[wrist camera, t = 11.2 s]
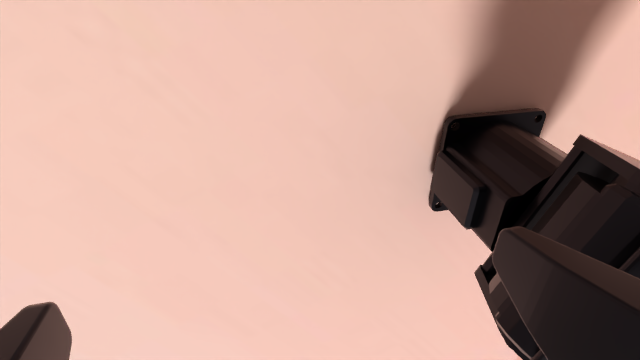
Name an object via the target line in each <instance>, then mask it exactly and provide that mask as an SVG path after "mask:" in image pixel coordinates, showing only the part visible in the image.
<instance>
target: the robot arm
mask: <svg viewBox="0 0 640 360" xmlns="http://www.w3.org/2000/svg"><path fill="white" fill-rule="evenodd" d="M536 116H537V118H536ZM535 118H536V119H535ZM545 118H546V113H545V112H544V111H542V110H540V109H537V108H535V109H524V110H513V111H502V112H491V113H480V114H468V115H457V116H451V117H449V118H448V119H447V120H446V121H445V124H444V128H443V133H442V138H441V143H440V148H439V152H438V154H437V157H436V162H435V167H434V172H433V177H432V182H431V194H430V199H429V206H430V207H431V209H432V210H433V211H444V210H449V211H450V212H451V213H452V214H453V215H454V216H455V218H456V219H457V220H458V221H459V222H460V223H461V225H462V226H463V227H464V228H466V229H472V230H473V231H474V232H475V233H476V234H477V236H478V237H479V238H480V239H481V240H482V241H483V242H484V243H485V245H486V246H487V247H488V248H489V249H490V250H491V251H492V253H491V255H490V256H489V257H488V259H487V260H486V261H485V263H484V264H483V265H480V266H479V267H478V269H477V270H476V271H475V276H476V278H477V281H478V283H479V285H480V287H481V290H482V292H483V294H484V297H485V299H486V301H487V304H488V306H489V308H490V311H491V313H492V315H493V318H494V320H495V322H496V324H497V327H498V329H499V331H500V333H501V335H502V336H503V338H504V340H505V342H506V344H507V345H508V346H509V347H510V348H511V349H512V350H514V351H515V353H516V354H517V355H518V356H520V357H521V358H522V359H523V360H640V161H639V160H637V159H635V158H633V157H631V156H628V155H626V154H624V153H622V152H619V151H617V150H615V149H613V148H610V147H608V146H606V145H604V144H601V143H599V142H597V141H594V140H592V139H590V138H588V137H585V136H583V135H581V134H580V136H579V137H578V138H577V139H576V141H575V142H574V143H573V145H574V147H573V148H572V150H571V151H570V152H569V153H568V154H566V153H565V152H563V151H561V150H560V149H558V148H556V147H555V146H553V145H552V144H550V143H548V142H547V141H545V140H543V139H542V138H540V137H539V136H540V133H541V130H542V127H543V124H544V121H545ZM454 123H456V125H455V126H454V127H453V128H451V127H452V125H453V124H454ZM438 202H439V203H438ZM436 203H438V204H436ZM71 344H72V336H71V331H70V329H69V327H68V325H67V323H66V321H65V319H64V317H63V315H62V313H61V311H60V309H59V307H58V306H57V305H56V304H55V303H53V302H46V303H40V304H34V305H29V306H27V307H25V308H23V309H22V310H21V311H20V312H19V313H18V314H17V315H15V316H14V317H13V318H12V319H11V320H10V321H9V322H8V323H6V324H5V325H4V326H3V327H2V328H1V329H0V360H69V357H70V350H71Z"/></svg>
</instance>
